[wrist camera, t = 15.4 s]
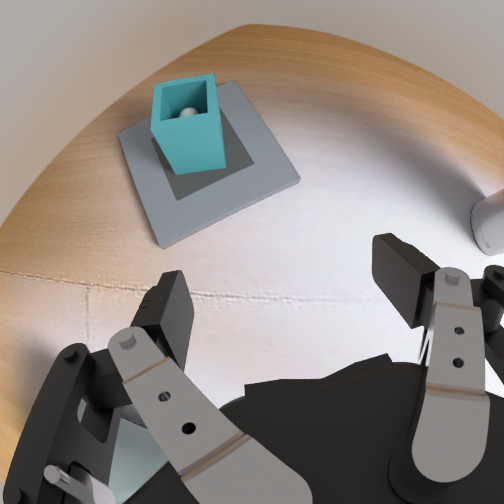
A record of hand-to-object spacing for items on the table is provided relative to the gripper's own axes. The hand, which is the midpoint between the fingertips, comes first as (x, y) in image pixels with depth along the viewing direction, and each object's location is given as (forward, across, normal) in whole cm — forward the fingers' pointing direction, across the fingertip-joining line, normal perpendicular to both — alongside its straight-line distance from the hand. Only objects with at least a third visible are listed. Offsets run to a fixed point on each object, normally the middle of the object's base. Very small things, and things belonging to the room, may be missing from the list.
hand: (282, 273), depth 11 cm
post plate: (+26, +6, -4) cm, 27 cm away
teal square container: (+25, +6, -5) cm, 26 cm away
